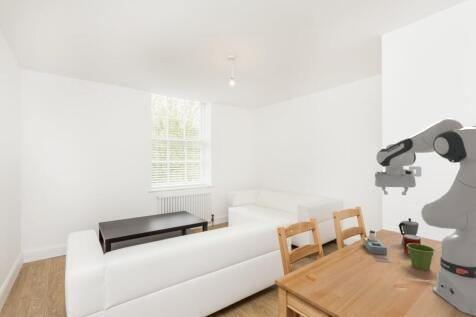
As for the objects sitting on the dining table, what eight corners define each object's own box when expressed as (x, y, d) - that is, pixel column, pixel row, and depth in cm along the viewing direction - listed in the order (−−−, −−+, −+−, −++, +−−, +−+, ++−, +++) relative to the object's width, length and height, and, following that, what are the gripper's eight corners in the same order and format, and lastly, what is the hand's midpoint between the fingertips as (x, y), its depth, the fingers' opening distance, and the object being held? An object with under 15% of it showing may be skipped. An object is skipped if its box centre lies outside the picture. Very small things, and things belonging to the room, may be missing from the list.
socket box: (386, 256, 136) (386, 247, 136) (369, 254, 138) (369, 245, 138) (378, 246, 151) (377, 238, 152) (362, 245, 154) (362, 237, 154)
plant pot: (441, 275, 114) (440, 252, 114) (414, 272, 116) (414, 250, 116) (426, 264, 125) (426, 243, 125) (402, 262, 127) (402, 242, 128)
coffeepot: (411, 241, 159) (410, 216, 159) (425, 246, 150) (424, 219, 150) (393, 243, 156) (392, 217, 156) (406, 248, 147) (405, 221, 147)
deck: (390, 264, 125) (390, 262, 125) (376, 263, 127) (376, 261, 127) (384, 257, 135) (384, 255, 135) (371, 255, 136) (371, 254, 136)
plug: (376, 247, 147) (376, 232, 147) (370, 247, 148) (370, 231, 148) (374, 245, 150) (374, 230, 150) (368, 245, 151) (368, 230, 151)
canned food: (424, 257, 134) (423, 238, 134) (410, 257, 134) (410, 238, 134) (414, 252, 142) (414, 234, 142) (401, 252, 142) (401, 234, 142)
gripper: (376, 171, 135) (377, 194, 135) (416, 171, 130) (417, 195, 130) (373, 171, 141) (373, 193, 141) (411, 171, 136) (412, 194, 136)
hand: (394, 194), depth 135 cm, fingers open, 8 cm apart
